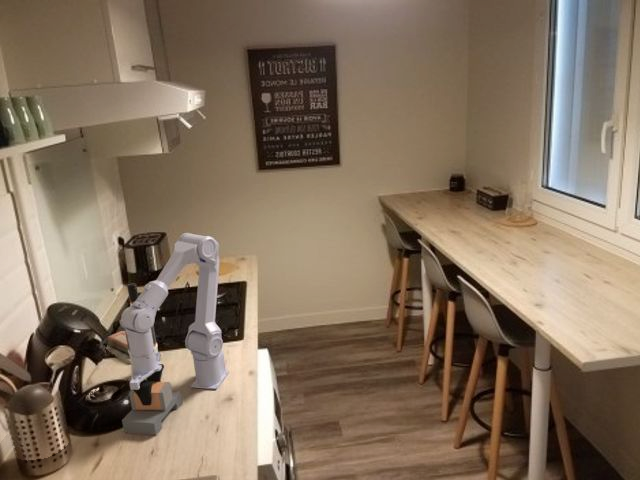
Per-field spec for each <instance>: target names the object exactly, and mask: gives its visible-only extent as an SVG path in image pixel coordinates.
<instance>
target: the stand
mask: <svg viewBox="0 0 640 480" xmlns="http://www.w3.org/2000/svg"><path fill="white" fill-rule="evenodd" d="M172 396H173V399H172V401H171V402H170V404H169V405H168V407H167V409H166V410H132V409H131V410H130V411H129V412H128V413H127V414H126V415H125V417H123V419H121V423H122V428H123V432H124V433H128V434H137V435H138V434H140V435H146V436H157V435H158V434H159V433H160V432H161V431H162V429H163V423H162V421H163V420H164V418H165V417H166V416H167V415H168V414H169V413H170V411H171V410H178V409H179V408H180V407H181V405H182V404H183V403H184V402H183V399H182V396H183V395H182V392H181V391H180V390H179V391H178V390H172Z"/></svg>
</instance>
